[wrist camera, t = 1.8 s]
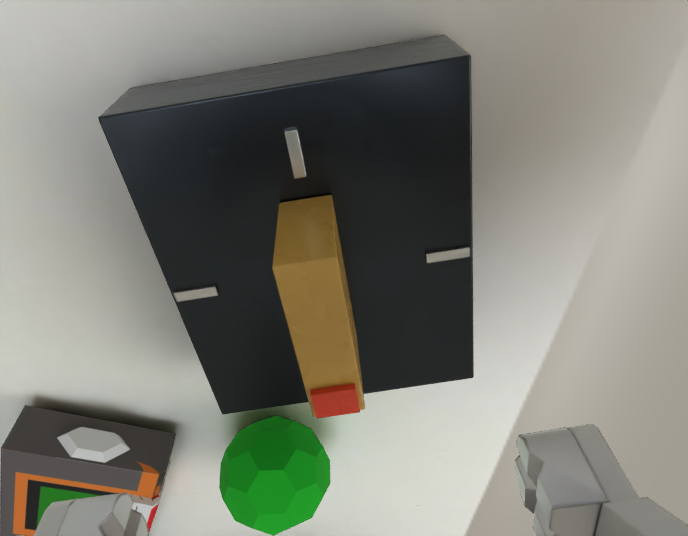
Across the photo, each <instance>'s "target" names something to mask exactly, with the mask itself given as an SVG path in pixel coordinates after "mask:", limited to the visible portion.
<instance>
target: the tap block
mask: <svg viewBox="0 0 688 536" xmlns="http://www.w3.org/2000/svg"><path fill="white" fill-rule="evenodd" d="M98 119H99V122H100V124H101V127H102V129H103V131H104V134H105V136H106V138H107V141H108V143H109V146H110V148H111V150H112V153H113V155H114V158H115V160H116V162H117V165H118V167H119V169H120V172H121V174H122V177H123V179H124V181H125V184H126V186H127V188H128V191H129V193H130V196H131V198H132V200H133V203H134V205H135V207H136V210H137V212H138V215H139V217H140V219H141V222H142V224H143V227H144V229H145V231H146V234H147V236H148V238H149V241H150V243H151V246H152V248H153V250H154V253H155V255H156V257H157V260H158V262H159V265H160V267H161V269H162V272H163V274H164V277H165V279H166V281H167V284H168V286H169V288H170V291H171V293H172V296H173V298H174V300H175V303H176V305H177V307H178V310H179V312H180V315H181V317H182V319H183V322H184V324H185V327H186V329H187V331H188V334H189V336H190V338H191V341H192V343H193V346H194V348H195V350H196V353H197V355H198V357H199V360H200V362H201V365H202V367H203V369H204V372H205V374H206V377H207V379H208V381H209V384H210V386H211V388H212V391H213V393H214V396H215V398H216V400H217V403H218V405H219V407H220V410H221V412H222V414H229V413H236V412H242V411H249V410H256V409H263V408H270V407H277V406H283V405H290V404H297V403H304V402H309V401H308V397H307V394H306V390H305V386H304V383H303V379H302V375H301V372H300V368H299V364H298V361H297V357H296V353H295V350H294V346H293V342H292V339H291V335H290V331H289V328H288V324H287V320H286V317H285V313H284V309H283V306H282V302H281V298H280V295H279V291H278V287H277V284H276V280H275V276H274V273H273V269H272V266H273V256H274V247H275V237H276V228H277V218H278V208H279V203H282V202H288V201H295V200H301V199H307V198H313V197H320V196H326V195H332V199H333V204H334V210H335V216H336V221H337V227H338V233H339V238H340V244H341V250H342V255H343V261H344V267H345V272H346V278H347V283H348V289H349V295H350V300H351V306H352V312H353V317H354V323H355V329H356V335H357V344H358V352H359V361H360V369H361V378H362V386H363V394H365V393H372V392H379V391H386V390H393V389H400V388H406V387H413V386H420V385H427V384H434V383H441V382H447V381H454V380H461V379H468V378H473V376H474V373H473V239H472V105H471V55H470V54H468V53H467V52H466V51H465V50H463V49H462V48H461V47H460V46H459V45H457V44H456V43H455V42H454V41H452V40H451V39H450V38H449V37H447V36H446V35H441V36H435V37H429V38H423V39H417V40H411V41H405V42H399V43H393V44H387V45H382V46H376V47H370V48H364V49H358V50H352V51H346V52H340V53H334V54H328V55H322V56H316V57H311V58H305V59H299V60H293V61H287V62H281V63H275V64H269V65H263V66H257V67H251V68H245V69H240V70H234V71H228V72H222V73H216V74H210V75H204V76H198V77H192V78H186V79H180V80H174V81H168V82H163V83H157V84H151V85H145V86H139V87H133V88H130V89H129V90H128V91H126V92H125V93H124V94H123V95H122V96H121V97H120V98H119V99H118V100H117V101H116V102H115V103H113V104H112V105H111V106H110V107H109V108H108V109H107V110H106V111H105V112H104V113H103V114H102V115H100V116H99V117H98Z"/></svg>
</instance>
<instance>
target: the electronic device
mask: <svg viewBox="0 0 688 536" xmlns="http://www.w3.org/2000/svg"><path fill="white" fill-rule="evenodd" d="M175 436H176V434H174V433H169V432H164V431H159V430H153V429H148V428H143V427H137V426H132V425H127V424H122V423H116V422H111V421H106V420H101V419H95V418H90V417H85V416H80V415H74V414H69V413H64V412H59V411H53V410H48V409H43V408H37V407H32V406H27V405H25V407H24V408H23V410H22V412H21V414H20V415H19V417H18V419H17V421H16V423H15V424H14V426H13V428H12V430H11V431H10V433H9V435H8V437H7V439H6V440H5V442H4V444H3V446H2V447H1V486H0V536H33V535H34V533H35V531H36V529H37V527H38V525H39V522H40V520H41V518H42V516H43V514H44V511H45V510H46V509H47V508H48V507H49V506H50V504H51V503H52V502H58V501H65V500H71V499H81V498H88V497H96V496H104V495H111V494H119V493H128V494H129V495H130V497H131V498H132V499H133V501H134V503H133V506H132V509H133V510H135V511H137V512H140V513H142V515H143V516H144V518H145V520H146V523H147V526H148V534H149V531H150V528H151V525H152V522H153V519H154V516H155V513H156V510H157V507H158V504H159V501H160V498H161V494H162V490H163V486H164V482H165V478H166V474H167V471H168V468H169V465H170V455H171V451H172V448H173V444H174V440H175Z"/></svg>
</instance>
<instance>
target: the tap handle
mask: <svg viewBox="0 0 688 536" xmlns="http://www.w3.org/2000/svg"><path fill="white" fill-rule="evenodd" d="M272 269H273V273H274V276H275V280H276V284H277V287H278V291H279V295H280V298H281V302H282V306H283V309H284V313H285V317H286V320H287V324H288V328H289V331H290V335H291V339H292V342H293V346H294V350H295V353H296V357H297V361H298V364H299V368H300V372H301V375H302V379H303V383H304V386H305V390H306V394H307V397H308V401H309V405H310V408H311V412H312V415H313V416H316V418H323V417H330V416H337V415H343V414H350V413H357V412H360V410H363V409H365V403H364V395H363V386H362V378H361V369H360V361H359V352H358V344H357V335H356V329H355V323H354V317H353V312H352V306H351V300H350V295H349V289H348V283H347V278H346V272H345V267H344V261H343V255H342V250H341V244H340V238H339V233H338V227H337V221H336V216H335V210H334V204H333V199H332V195H326V196H320V197H313V198H307V199H301V200H295V201H288V202H282V203H279V208H278V218H277V228H276V237H275V247H274V256H273V266H272Z"/></svg>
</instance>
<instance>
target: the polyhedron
mask: <svg viewBox="0 0 688 536" xmlns="http://www.w3.org/2000/svg"><path fill="white" fill-rule="evenodd" d="M329 485H330V460H329V458H328V456H327V454H326V452H325V450H324V448H323V446H322V445H321V443H320V442H319V440H318V438H317V437H316V435H315V434H314V432H313V431H312V429H311V428H309V427H307V426H304V425H302V424H300V423H298V422H295V421H293V420H289V419H286V418H282V417H279V416H273V417H270V418H267V419H264V420H260V421H257V422H255V423H253V424H251V425H249V426H247V427H245V428H244V429H242V430H240V431H239V432H238V434H237V435H236V436H235V438H234V439H233V441H232V442H231V443H230V445H229V446H228V447H227V449H226V451H225V454H224V456H223V459H222V462H221V471H220V491H221V494H222V498H223V500H224V502H225V504H226V505H227V507H228V509H229V511H230V512H231V514H232V516H233V517H234V519H235V521H237V522H240V523H242V524H244V525H246V526H248V527H251V528H253V529H256V530H259V531H262V532H265V533H268V534H271V535H276V534H278V533H280V532H282V531H284V530H287V529H289V528H291V527H293V526H295V525H297V524H300V523H302V522H304V521H306V520H308V519H310V518H312V516H313V515H314V513H315V511H316V509H317V507H318V505H319V504H320V502H321V500H322V498H323V496H324V494H325V492H326V490H327V488H328V487H329Z"/></svg>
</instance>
